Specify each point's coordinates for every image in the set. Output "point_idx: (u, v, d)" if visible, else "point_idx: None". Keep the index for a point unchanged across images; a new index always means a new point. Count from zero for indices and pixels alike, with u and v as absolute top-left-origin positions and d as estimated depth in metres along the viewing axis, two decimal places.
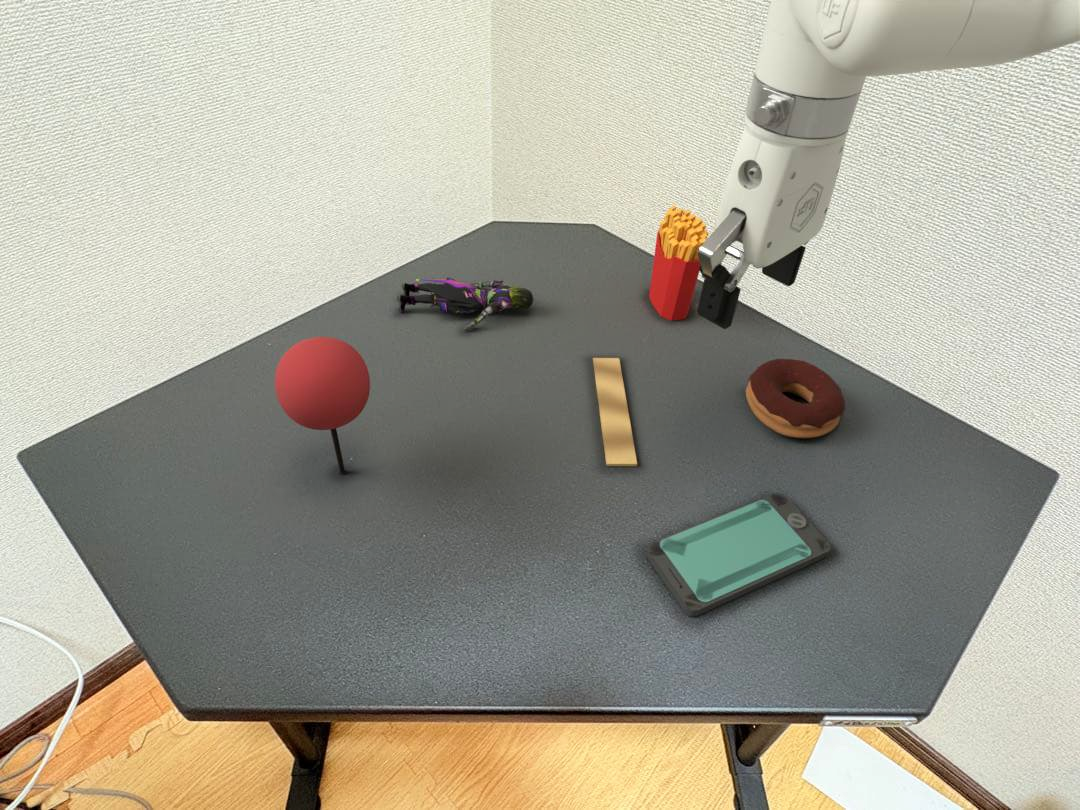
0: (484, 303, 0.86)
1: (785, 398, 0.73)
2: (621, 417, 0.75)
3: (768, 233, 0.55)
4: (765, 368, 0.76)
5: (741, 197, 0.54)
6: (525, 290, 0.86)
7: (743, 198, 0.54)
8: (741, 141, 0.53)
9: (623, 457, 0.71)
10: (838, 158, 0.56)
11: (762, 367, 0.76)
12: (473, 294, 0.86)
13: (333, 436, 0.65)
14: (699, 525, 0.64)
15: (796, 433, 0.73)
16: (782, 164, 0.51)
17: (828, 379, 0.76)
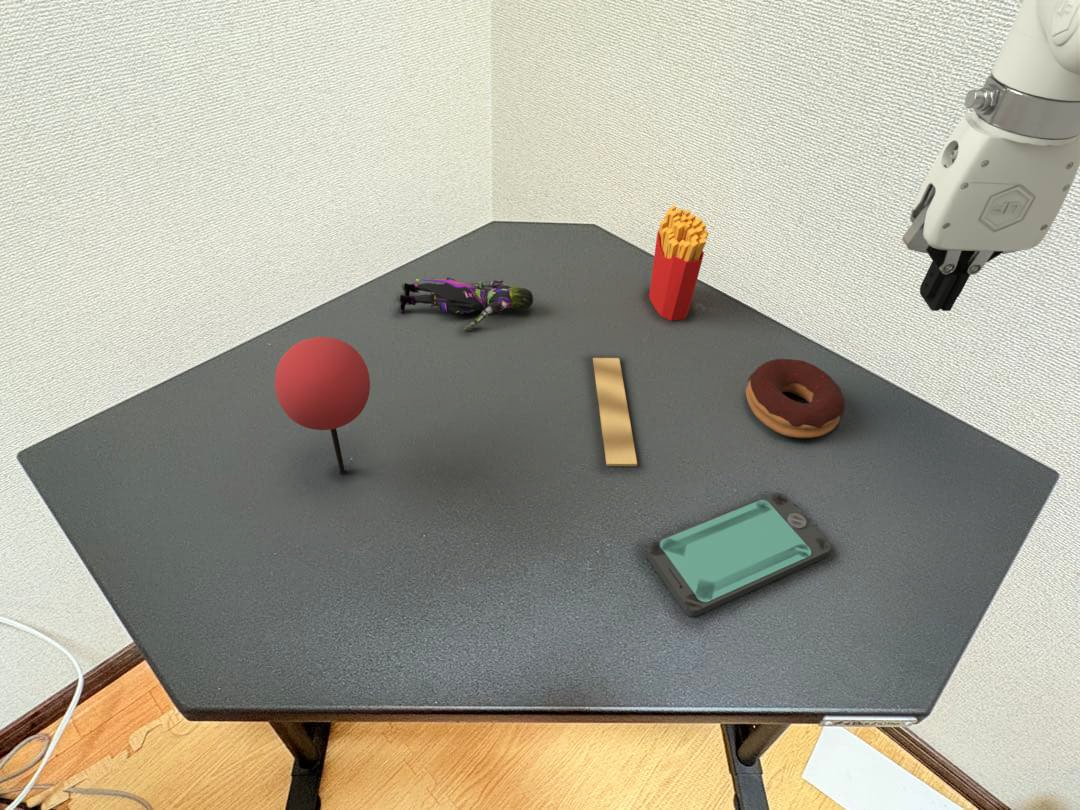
0: (484, 303, 0.86)
1: (785, 398, 0.73)
2: (621, 417, 0.75)
3: (946, 213, 0.59)
4: (765, 368, 0.76)
5: (937, 174, 0.59)
6: (525, 290, 0.86)
7: (938, 175, 0.59)
8: (958, 124, 0.58)
9: (623, 457, 0.71)
10: (1065, 173, 0.57)
11: (762, 367, 0.76)
12: (473, 294, 0.86)
13: (333, 436, 0.65)
14: (699, 525, 0.64)
15: (796, 433, 0.73)
16: (975, 148, 0.56)
17: (828, 379, 0.76)
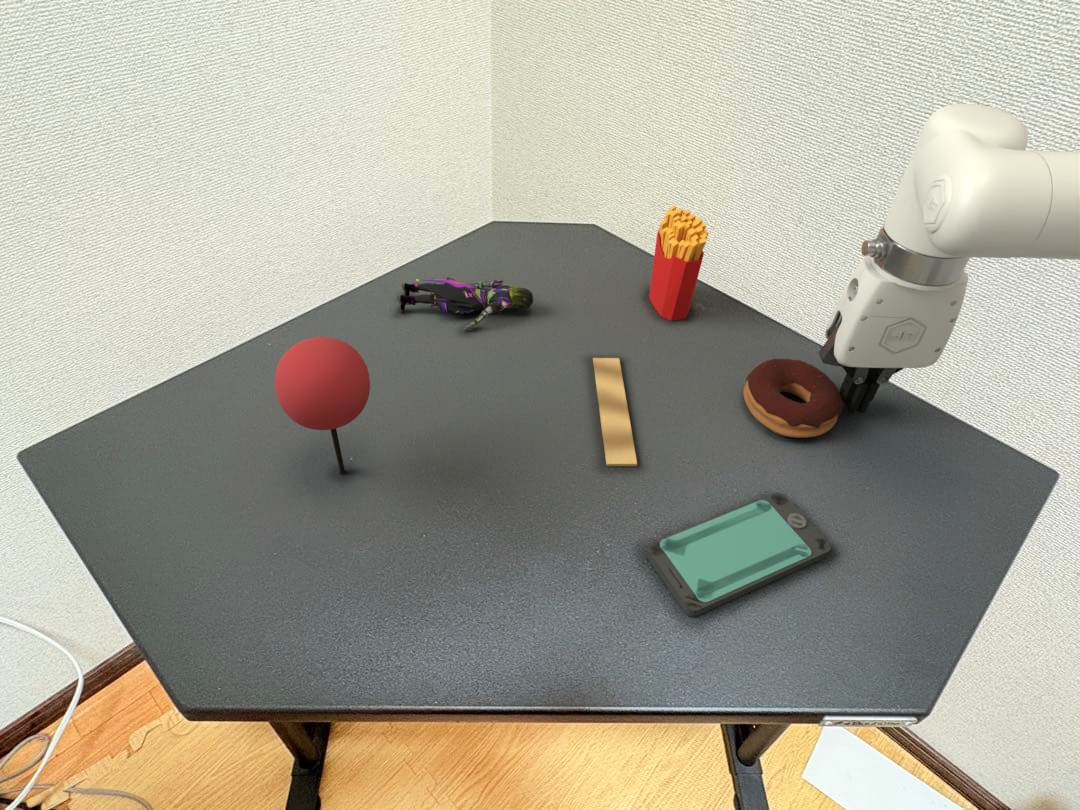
0: (484, 303, 0.86)
1: (783, 398, 0.73)
2: (621, 417, 0.75)
3: (851, 339, 0.68)
4: (762, 368, 0.76)
5: (843, 304, 0.68)
6: (525, 290, 0.86)
7: (844, 305, 0.68)
8: None
9: (623, 457, 0.71)
10: (950, 309, 0.65)
11: (760, 367, 0.76)
12: (473, 294, 0.86)
13: (333, 436, 0.65)
14: (699, 525, 0.64)
15: (794, 433, 0.73)
16: (870, 289, 0.64)
17: (826, 379, 0.76)
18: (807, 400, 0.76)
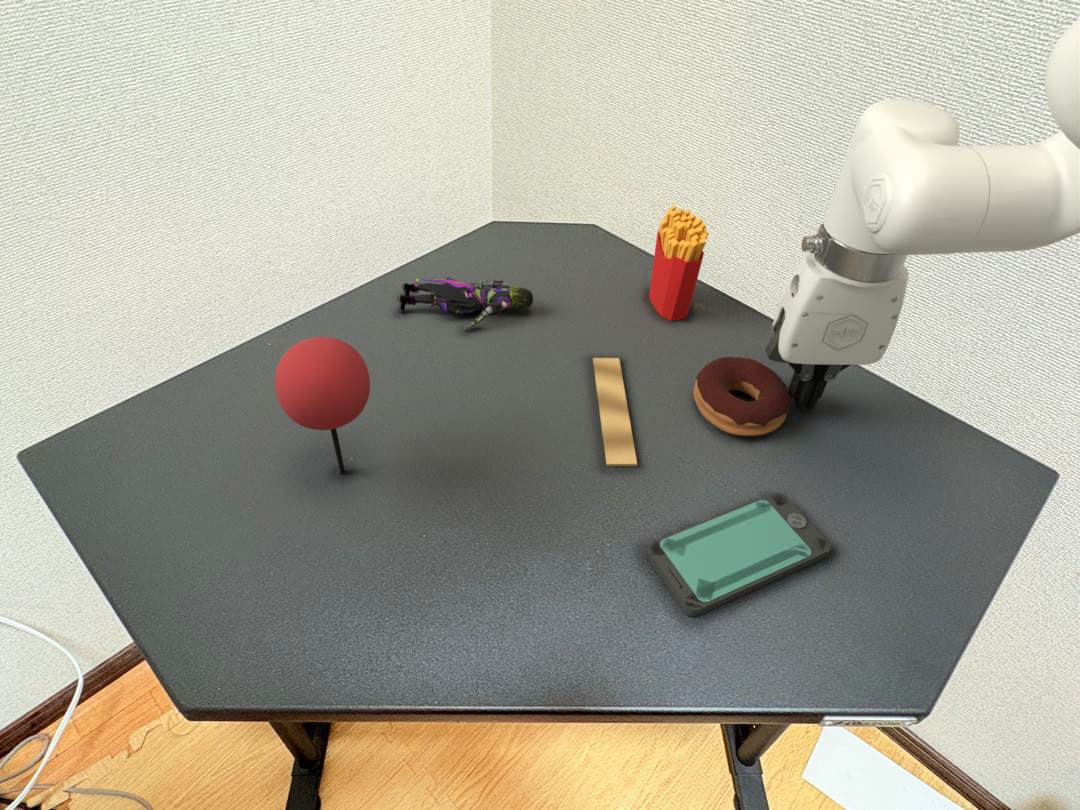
0: (484, 303, 0.86)
1: (730, 396, 0.73)
2: (621, 417, 0.75)
3: (793, 335, 0.67)
4: (712, 366, 0.76)
5: (787, 300, 0.68)
6: (525, 290, 0.86)
7: (787, 302, 0.68)
8: (802, 259, 0.67)
9: (623, 457, 0.71)
10: (891, 305, 0.65)
11: (709, 365, 0.76)
12: (473, 294, 0.86)
13: (333, 436, 0.65)
14: (699, 525, 0.64)
15: (741, 431, 0.73)
16: (810, 285, 0.64)
17: (775, 377, 0.76)
18: (756, 398, 0.76)
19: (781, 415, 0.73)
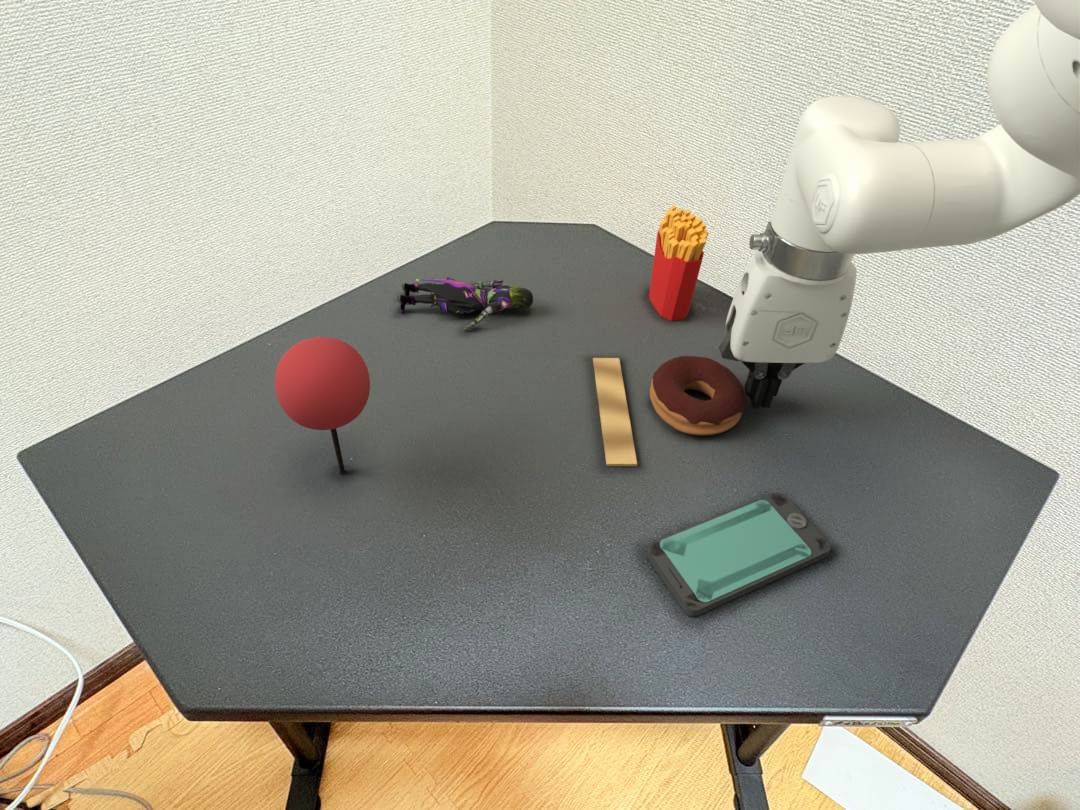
0: (484, 303, 0.86)
1: (684, 395, 0.73)
2: (621, 417, 0.75)
3: (744, 334, 0.67)
4: (668, 365, 0.76)
5: (737, 299, 0.68)
6: (525, 290, 0.86)
7: (738, 300, 0.68)
8: (752, 257, 0.66)
9: (623, 457, 0.71)
10: (840, 303, 0.65)
11: (665, 364, 0.76)
12: (473, 294, 0.86)
13: (333, 436, 0.65)
14: (699, 525, 0.64)
15: (695, 430, 0.73)
16: (758, 283, 0.64)
17: (730, 376, 0.76)
18: (712, 397, 0.76)
19: (735, 414, 0.73)
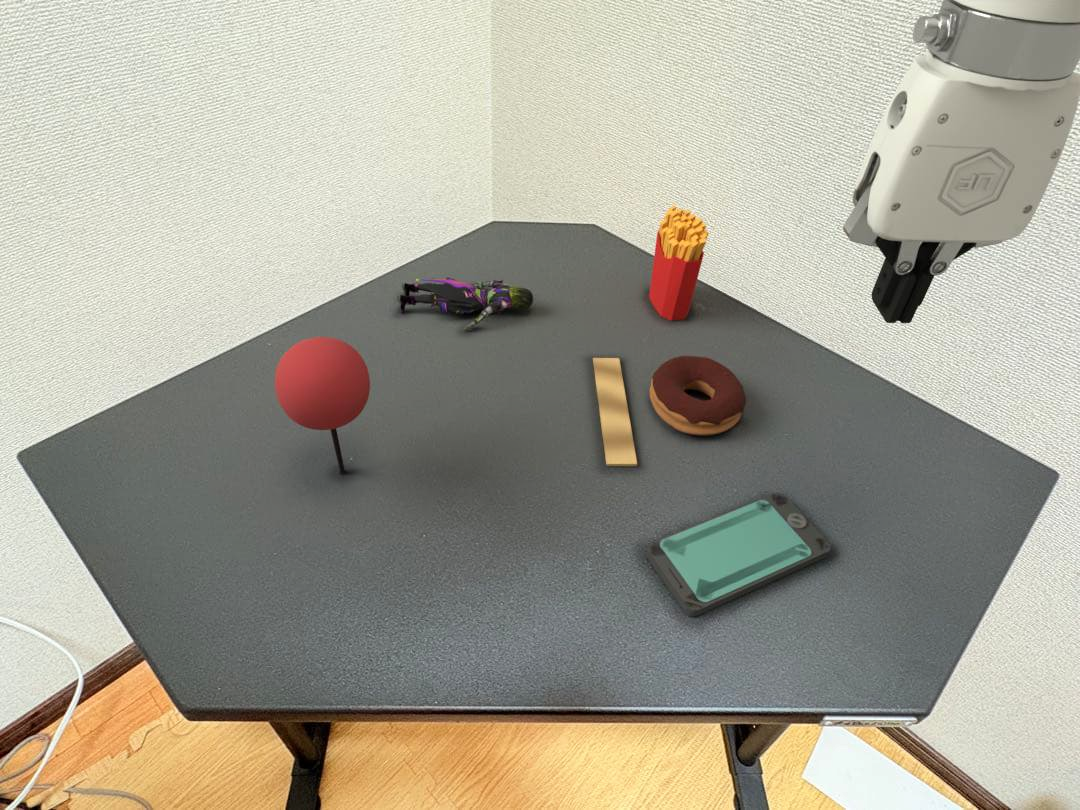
0: (484, 303, 0.86)
1: (684, 395, 0.73)
2: (621, 417, 0.75)
3: (895, 189, 0.44)
4: (668, 365, 0.76)
5: (882, 138, 0.44)
6: (525, 290, 0.86)
7: (883, 140, 0.44)
8: None
9: (623, 457, 0.71)
10: (1053, 133, 0.42)
11: (665, 364, 0.76)
12: (473, 294, 0.86)
13: (333, 436, 0.65)
14: (699, 525, 0.64)
15: (695, 430, 0.73)
16: (928, 98, 0.41)
17: (730, 376, 0.76)
18: (712, 397, 0.76)
19: (735, 414, 0.73)
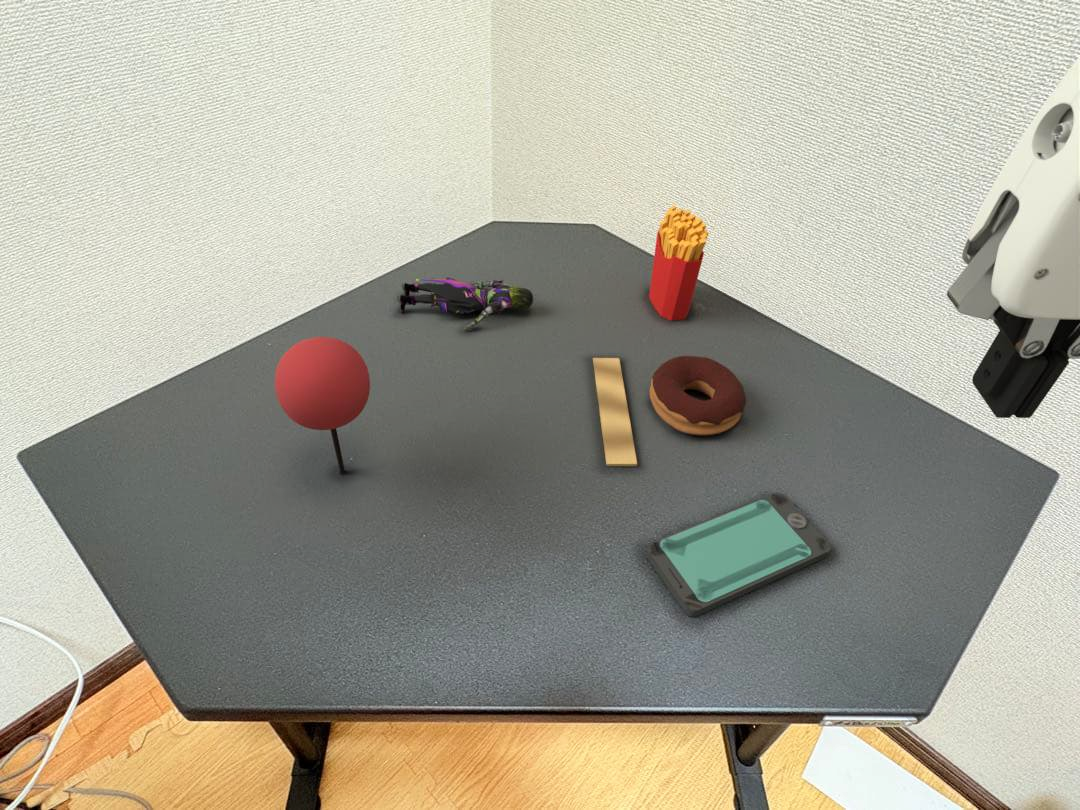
0: (484, 303, 0.86)
1: (684, 395, 0.73)
2: (621, 417, 0.75)
3: (1044, 250, 0.29)
4: (668, 365, 0.76)
5: (1023, 172, 0.30)
6: (525, 290, 0.86)
7: (1026, 174, 0.30)
8: (1068, 70, 0.29)
9: (623, 457, 0.71)
10: None
11: (665, 364, 0.76)
12: (473, 294, 0.86)
13: (333, 436, 0.65)
14: (699, 525, 0.64)
15: (695, 430, 0.73)
16: None
17: (730, 376, 0.76)
18: (712, 397, 0.76)
19: (735, 414, 0.73)
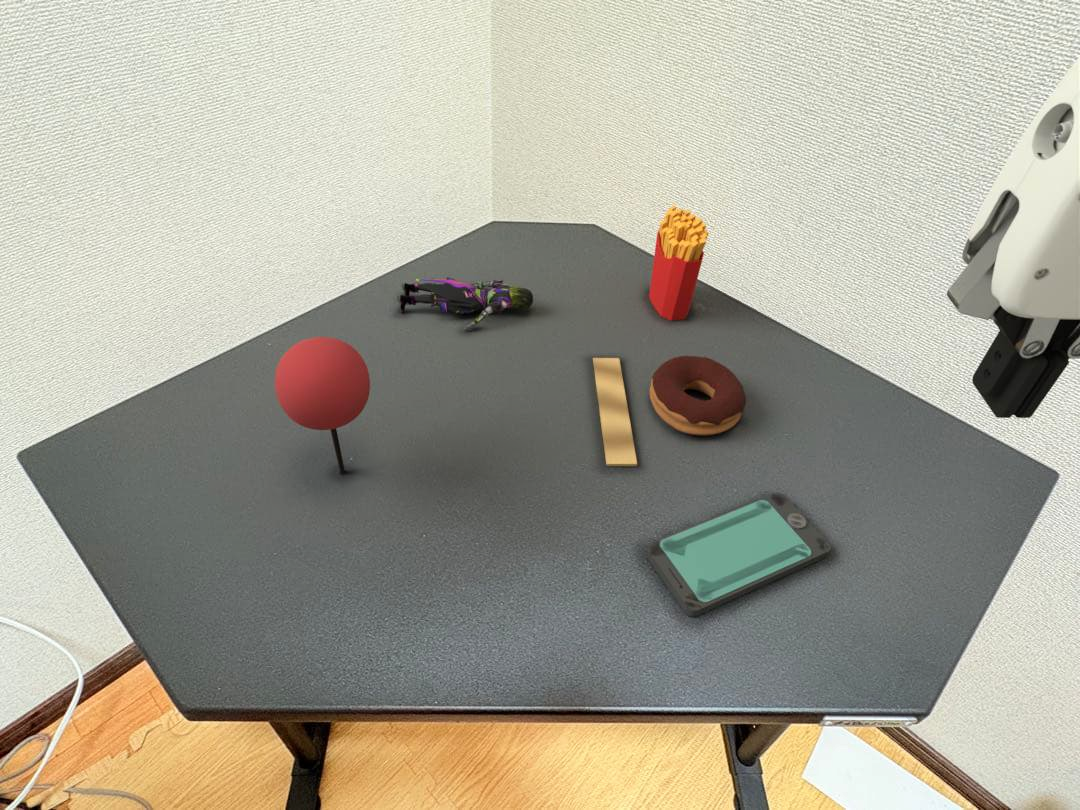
0: (484, 303, 0.86)
1: (684, 395, 0.73)
2: (621, 417, 0.75)
3: (1044, 250, 0.29)
4: (668, 365, 0.76)
5: (1024, 172, 0.30)
6: (525, 290, 0.86)
7: (1026, 174, 0.30)
8: (1069, 70, 0.29)
9: (623, 457, 0.71)
10: None
11: (665, 364, 0.76)
12: (473, 294, 0.86)
13: (333, 436, 0.65)
14: (699, 525, 0.64)
15: (695, 430, 0.73)
16: None
17: (730, 376, 0.76)
18: (712, 397, 0.76)
19: (735, 414, 0.73)
